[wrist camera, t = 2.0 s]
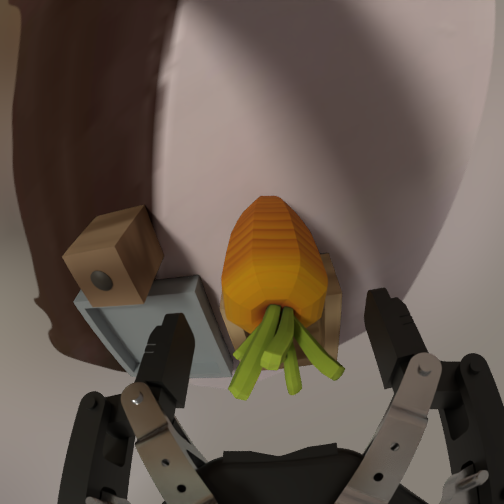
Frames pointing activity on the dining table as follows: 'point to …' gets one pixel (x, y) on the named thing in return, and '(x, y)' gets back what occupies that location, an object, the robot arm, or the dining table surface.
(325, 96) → the dining table surface
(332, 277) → the wooden crate
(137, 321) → the tray
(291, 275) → the carrot
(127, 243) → the walnut block
